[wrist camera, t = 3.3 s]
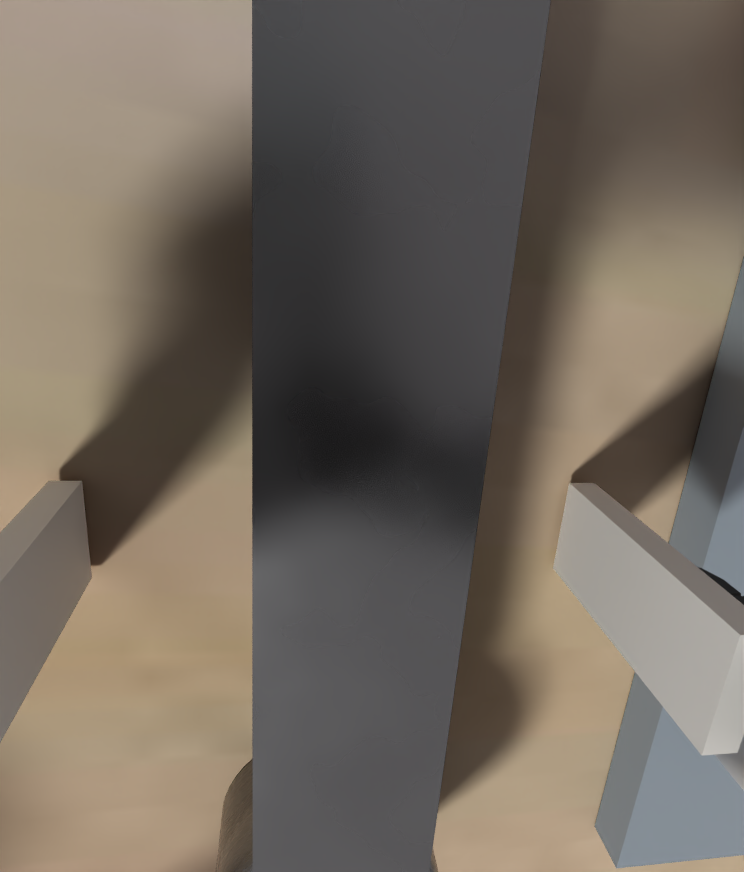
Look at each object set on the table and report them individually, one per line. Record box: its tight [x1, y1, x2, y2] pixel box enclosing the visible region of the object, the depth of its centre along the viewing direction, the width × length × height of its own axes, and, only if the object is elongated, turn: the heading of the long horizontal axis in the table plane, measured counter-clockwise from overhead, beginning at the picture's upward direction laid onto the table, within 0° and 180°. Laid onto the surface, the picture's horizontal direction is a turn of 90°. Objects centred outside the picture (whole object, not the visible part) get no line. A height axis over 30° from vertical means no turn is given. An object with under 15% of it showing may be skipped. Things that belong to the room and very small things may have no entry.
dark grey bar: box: [216, 0, 551, 872], centre depth 14 cm, size 26×6×5 cm, turn 176°
